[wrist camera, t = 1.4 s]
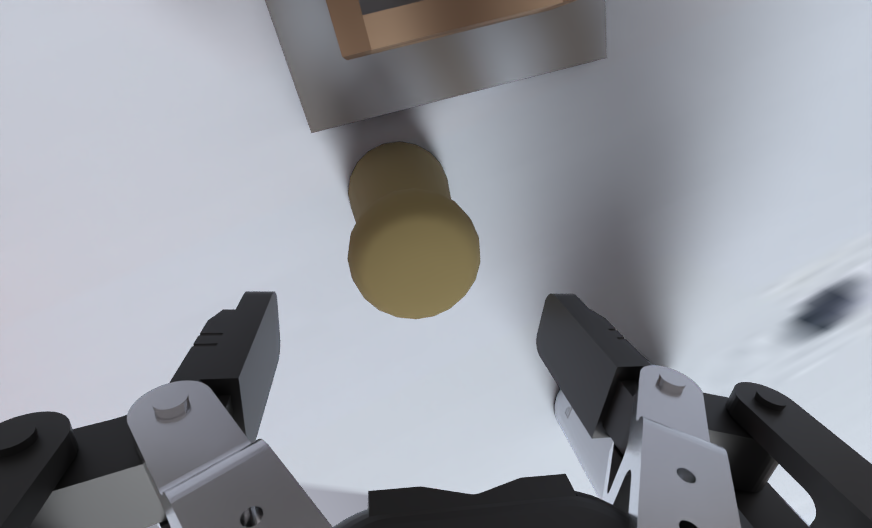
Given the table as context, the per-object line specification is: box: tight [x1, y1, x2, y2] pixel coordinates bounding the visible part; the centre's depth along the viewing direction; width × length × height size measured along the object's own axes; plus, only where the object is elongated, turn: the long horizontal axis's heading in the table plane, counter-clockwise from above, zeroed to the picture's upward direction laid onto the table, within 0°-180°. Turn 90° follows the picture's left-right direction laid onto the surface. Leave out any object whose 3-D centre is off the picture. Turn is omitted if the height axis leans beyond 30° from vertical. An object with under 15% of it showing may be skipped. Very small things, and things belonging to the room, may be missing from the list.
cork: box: [348, 142, 480, 319], centre depth 19 cm, size 6×6×11 cm
